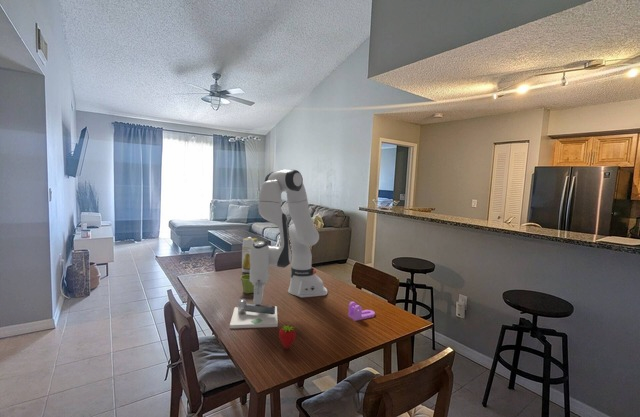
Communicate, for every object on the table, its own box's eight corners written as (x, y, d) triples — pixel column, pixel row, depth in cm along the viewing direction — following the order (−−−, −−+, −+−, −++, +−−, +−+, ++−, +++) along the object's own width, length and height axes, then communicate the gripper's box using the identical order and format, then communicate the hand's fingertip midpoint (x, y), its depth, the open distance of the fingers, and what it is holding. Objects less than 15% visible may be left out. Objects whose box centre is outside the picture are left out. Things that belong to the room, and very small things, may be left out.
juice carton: (240, 272, 201) (241, 237, 199) (245, 269, 209) (246, 235, 207) (253, 273, 200) (254, 238, 198) (258, 270, 207) (259, 236, 205)
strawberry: (288, 341, 118) (289, 317, 117) (298, 350, 112) (299, 325, 111) (275, 345, 114) (276, 320, 113) (284, 355, 108) (285, 329, 107)
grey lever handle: (236, 313, 136) (236, 301, 135) (239, 310, 139) (240, 298, 139) (273, 318, 133) (273, 305, 133) (275, 314, 137) (276, 302, 136)
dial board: (276, 309, 147) (276, 305, 147) (277, 326, 129) (277, 323, 129) (234, 310, 143) (234, 306, 143) (229, 328, 126) (229, 324, 126)
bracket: (354, 321, 138) (355, 306, 138) (348, 316, 143) (348, 302, 142) (376, 316, 144) (377, 302, 144) (369, 311, 149) (370, 298, 149)
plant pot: (236, 292, 165) (237, 277, 164) (246, 287, 174) (247, 273, 173) (250, 296, 162) (251, 280, 161) (260, 290, 171) (261, 275, 170)
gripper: (265, 284, 129) (264, 315, 131) (266, 270, 149) (265, 296, 151) (250, 284, 128) (249, 315, 130) (253, 270, 148) (253, 297, 150)
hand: (258, 305), depth 140 cm, fingers open, 4 cm apart
